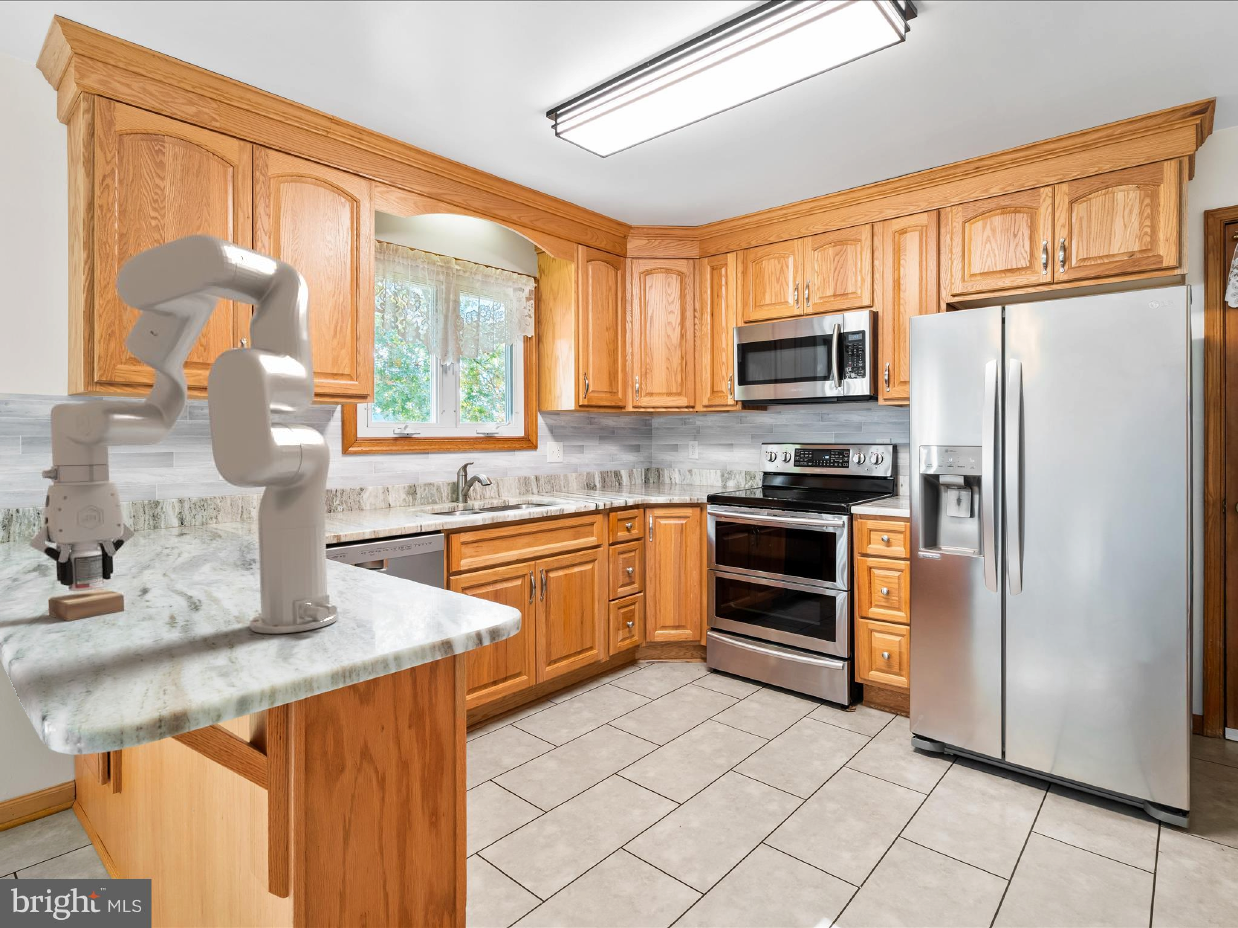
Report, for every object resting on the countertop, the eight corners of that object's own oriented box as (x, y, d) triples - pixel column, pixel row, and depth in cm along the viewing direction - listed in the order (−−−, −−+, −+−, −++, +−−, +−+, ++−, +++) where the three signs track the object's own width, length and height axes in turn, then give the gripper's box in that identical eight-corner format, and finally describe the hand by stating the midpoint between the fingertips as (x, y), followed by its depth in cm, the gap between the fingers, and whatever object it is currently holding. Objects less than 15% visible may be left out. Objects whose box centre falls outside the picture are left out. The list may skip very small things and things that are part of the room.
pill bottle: (110, 585, 118) (108, 538, 118) (86, 591, 114) (84, 542, 113) (85, 585, 119) (83, 538, 119) (61, 591, 114) (58, 542, 114)
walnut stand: (124, 610, 118) (123, 593, 118) (67, 621, 111) (67, 603, 111) (104, 605, 122) (103, 588, 122) (49, 615, 115) (48, 597, 115)
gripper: (26, 478, 106) (31, 593, 107) (147, 473, 121) (151, 575, 121) (9, 478, 111) (14, 588, 111) (128, 473, 125) (132, 571, 125)
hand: (86, 580), depth 116 cm, fingers closed on pill bottle, 4 cm apart
